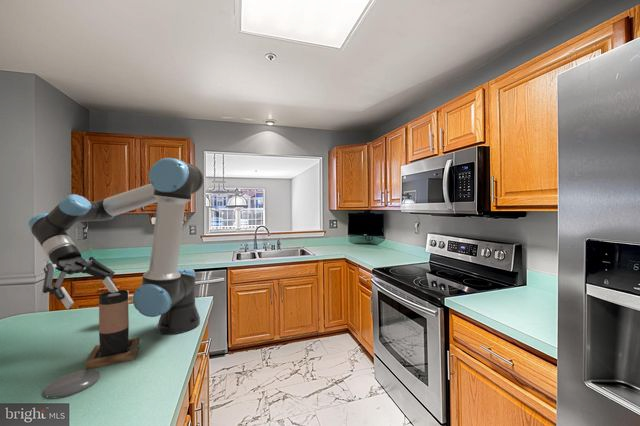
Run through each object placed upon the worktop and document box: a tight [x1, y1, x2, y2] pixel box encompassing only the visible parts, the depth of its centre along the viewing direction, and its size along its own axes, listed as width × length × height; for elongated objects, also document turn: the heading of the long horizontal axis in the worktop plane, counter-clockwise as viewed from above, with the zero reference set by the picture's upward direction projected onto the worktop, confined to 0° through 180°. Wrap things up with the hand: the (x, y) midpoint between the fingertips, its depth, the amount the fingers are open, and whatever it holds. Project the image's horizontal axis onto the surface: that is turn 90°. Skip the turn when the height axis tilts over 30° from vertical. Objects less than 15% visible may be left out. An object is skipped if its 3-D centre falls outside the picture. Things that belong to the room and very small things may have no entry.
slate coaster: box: [44, 368, 101, 398], centre depth 74 cm, size 11×11×1 cm
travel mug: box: [98, 289, 130, 358], centre depth 89 cm, size 8×8×20 cm
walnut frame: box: [85, 336, 140, 370], centre depth 89 cm, size 12×12×2 cm
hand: (94, 299), depth 91 cm, fingers open, 13 cm apart
